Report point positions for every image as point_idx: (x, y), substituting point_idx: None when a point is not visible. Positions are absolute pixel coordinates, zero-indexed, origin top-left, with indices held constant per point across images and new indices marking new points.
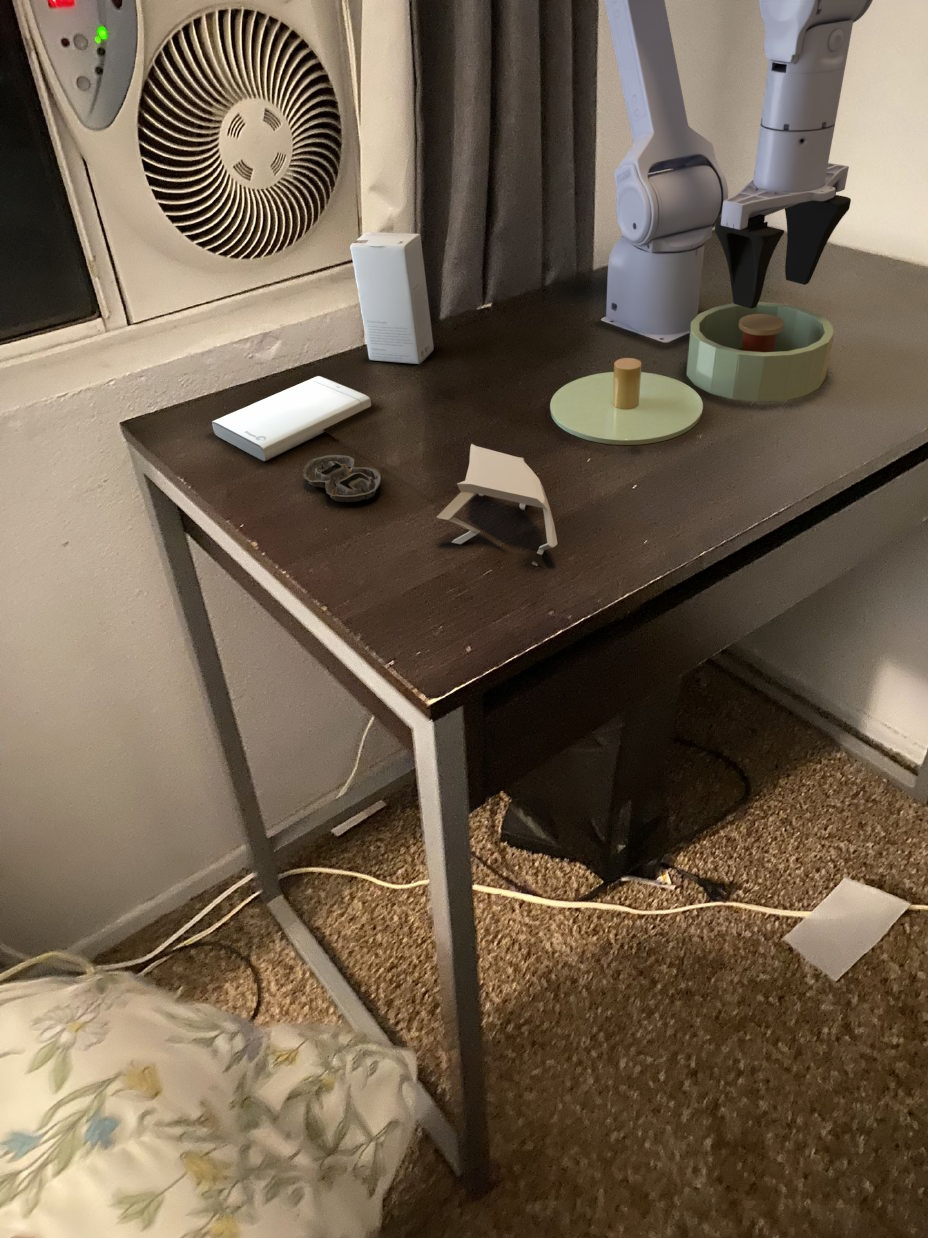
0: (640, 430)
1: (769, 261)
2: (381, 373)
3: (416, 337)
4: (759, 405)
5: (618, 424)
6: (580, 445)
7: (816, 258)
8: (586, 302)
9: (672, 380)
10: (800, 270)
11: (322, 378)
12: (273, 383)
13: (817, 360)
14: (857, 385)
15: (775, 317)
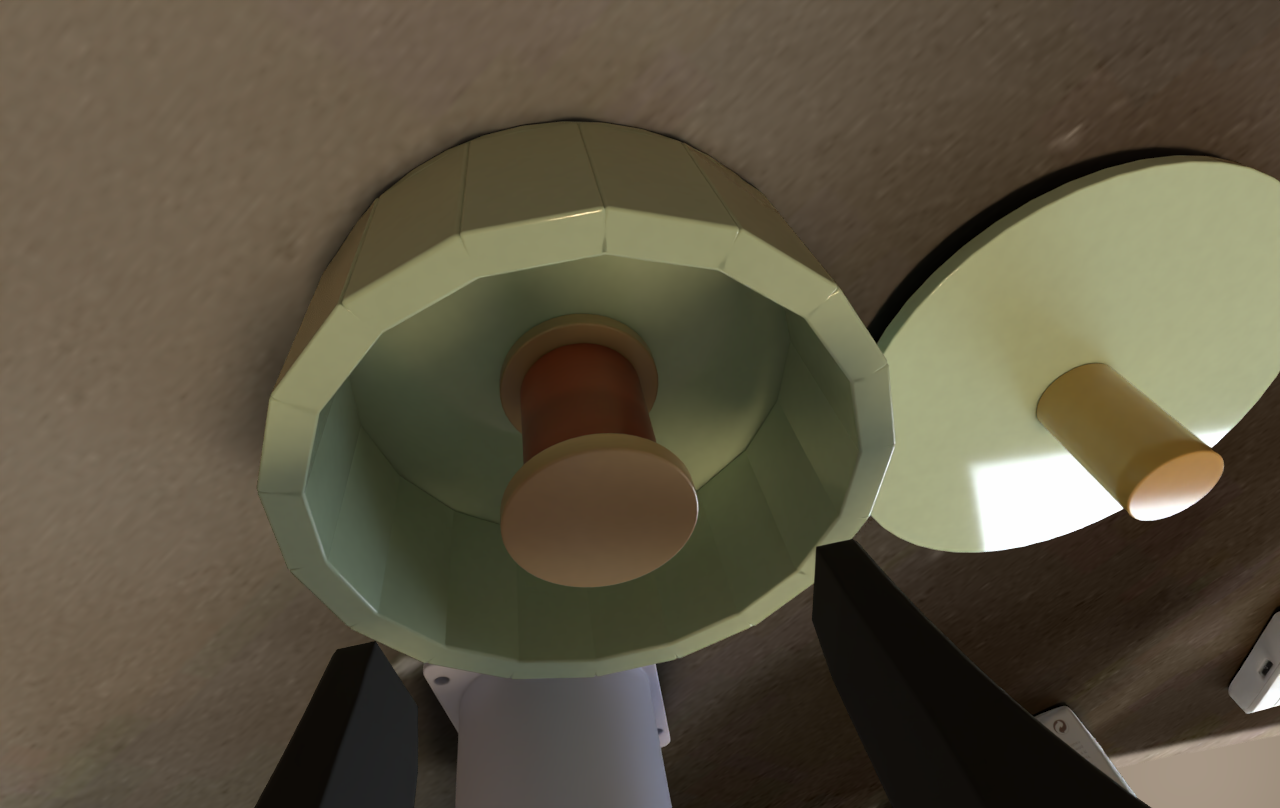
0: (1229, 239)
1: (981, 788)
2: (1123, 699)
3: (1106, 761)
4: None
5: (1213, 307)
6: None
7: (304, 791)
8: None
9: None
10: (381, 733)
11: (1262, 704)
12: (1235, 720)
13: (533, 186)
14: (241, 84)
15: (516, 531)
